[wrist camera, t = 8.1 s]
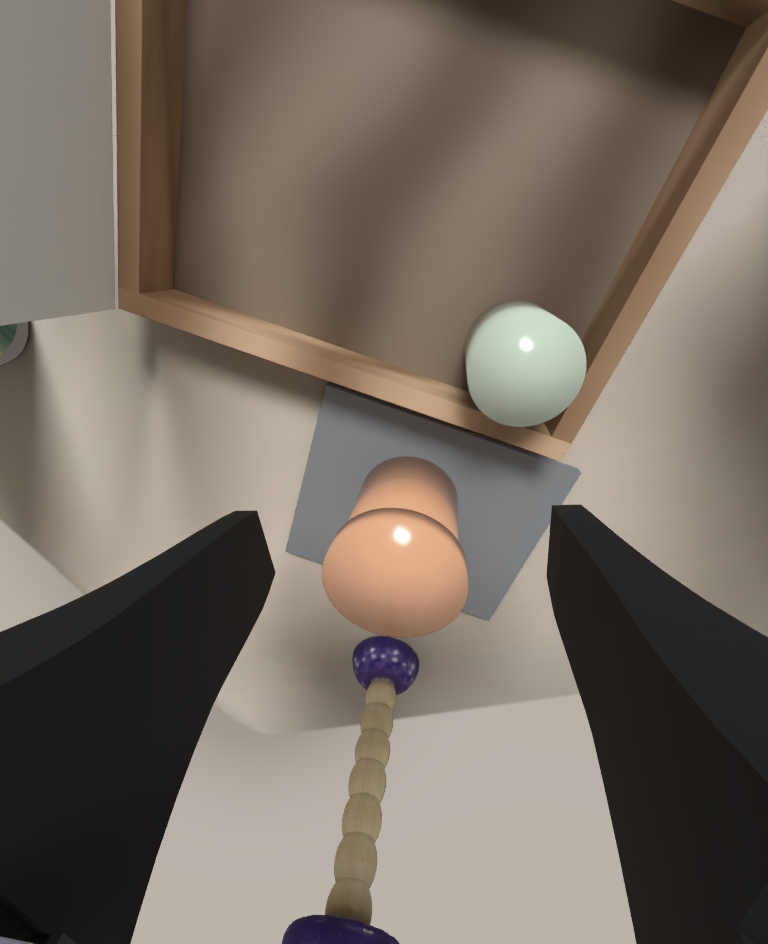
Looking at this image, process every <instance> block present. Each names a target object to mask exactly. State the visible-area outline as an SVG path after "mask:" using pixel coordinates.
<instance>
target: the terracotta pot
mask: <svg viewBox="0 0 768 944" xmlns="http://www.w3.org/2000/svg"><path fill="white" fill-rule="evenodd" d="M322 581H323V585H324V589H325V591H326V594H327V596H328V598H329V599H330V601H331V602H332V604H333V605H334V607H335V608H336V609H337V610H338V611H339V612H340V613H341V614H342V615H343V616H344V617H346V618H347V619H348V620H350V621H351V622H353V623H354V624H356V625H358V626H360V627H361V628H364V629H366V630H368V631H371V632H374V633H377V634H381V635H385V636H392V637H415V636H422V635H425V634H429V633H432V632H434V631H437V630H439V629H441V628H443V627H445V626H446V625H447V624H449V623H450V622H451V621H452V620H453V619H455V618H456V617H457V615H458V614H459V613H460V611H461V610H462V608H463V606H464V604H465V602H466V599H467V594H468V572H467V561H466V556H465V553H464V550H463V548H462V546H461V544H460V543H459V532H458V496H457V491H456V488H455V485H454V483H453V481H452V480H451V478H450V477H449V476H448V475H447V473H446V472H445V471H444V470H442V469H441V468H440V467H439V466H437V465H435V464H434V463H432V462H430V461H427V460H424V459H421V458H417V457H408V456H406V457H396V458H392V459H388V460H386V461H384V462H382V463H380V464H378V465H377V466H376V467H374V468H373V469H372V470H371V471H370V472H369V473H368V475H367V476H366V478H365V480H364V482H363V484H362V487H361V489H360V492H359V494H358V497H357V500H356V502H355V505H354V507H353V510H352V512H351V515H350V517H349V520H348V521H347V522H346V523H345V524H344V525H343V526H342V527H341V528H340V529H339V530H338V531H337V533H336V534H335V536H334V538H333V540H332V542H331V544H330V547H329V549H328V552H327V554H326V556H325V559H324V562H323V567H322Z"/></svg>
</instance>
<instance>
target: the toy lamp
mask: <svg viewBox="0 0 768 944" xmlns="http://www.w3.org/2000/svg"><path fill="white" fill-rule="evenodd" d="M353 669H354V673H355V675H356V677H357V679H358V681H359V683H360V684H361V685H362V686H363V687H364V688H365V689H366V690H367V692H366V698H365V702H366V708H365V710H364V712H363V715H362V718H361V733H362V734H361V735H360V737H359V739H358V742H357V744H356V749H355V760H356V764H355V766H354V767H353V770H352V772H351V775H350V780H349V796H350V799H349V801H348V803H347V804H346V807H345V809H344V813H343V819H342V833H343V839H342V841H341V842H340V844H339V847H338V849H337V852H336V856H335V863H334V876H335V881H336V883H335V885H334V886H333V888H332V890H331V892H330V894H329V897H328V900H327V905H326V910H325V915H311V916H307V917H302V918H299V919H297V920H295V921H294V922H293V923H292V924H291V925H289V927H288V928H287V930H286V932H285V934H284V937H283V941H282V944H399V942H398V941H397V940H396V939H395V938H394V937H392V936H390V935H389V934H388V933H386V932H384V931H383V930H381V929H378V928H375V927H373V926H371V925H370V922H371V915H372V900H371V895H370V891H369V888H370V887H371V885H372V883H373V880H374V877H375V873H376V867H377V851H376V846H375V842H376V840H377V838H378V836H379V832H380V829H381V822H382V812H381V807H380V802H381V800H382V799H383V796H384V792H385V788H386V774H385V770H384V769H385V767H386V765H387V763H388V760H389V756H390V743H389V740H388V738H389V736H390V734H391V732H392V728H393V715H392V710H393V708H394V706H395V702H396V695H398V694H400V693H402V692H404V691H406V690H407V689H408V688H409V687H410V686H411V685H412V683H413V682H414V680H415V678H416V676H417V673H418V669H419V660H418V657H417V655H416V654H415V652H414V651H413V650H412V648H411V647H409V646H408V645H407V644H406V643H403V642H402V641H399V640H397V639H394V638H390V637H382V636H381V637H371V638H368V639H366V640H364V641H362V642H361V643H360V644H358V646H357V647H356V648H355V650H354V653H353Z"/></svg>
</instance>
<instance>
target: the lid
mask: <svg viewBox="0 0 768 944" xmlns="http://www.w3.org/2000/svg"><path fill="white" fill-rule="evenodd" d="M111 309H115V279H114V213H113V146H112V80H111V13H110V0H0V326H2V325H9V324H16V323H23V322H29V321H36V320H43V319H50V318H57V317H63V316H70V315H77V314H84V313H90V312H97V311H104V310H111Z"/></svg>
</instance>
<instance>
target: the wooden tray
mask: <svg viewBox="0 0 768 944" xmlns="http://www.w3.org/2000/svg"><path fill="white" fill-rule="evenodd" d="M115 21H116V113H117V205H118V297H119V309H122V310H125V311H128V312H131V313H134V314H137V315H140V316H142V317H145V318H148V319H151V320H154V321H157V322H160V323H163V324H166V325H168V326H171V327H174V328H177V329H180V330H183V331H186V332H189V333H192V334H194V335H197V336H200V337H203V338H206V339H209V340H212V341H215V342H218V343H220V344H223V345H226V346H229V347H232V348H235V349H238V350H241V351H243V352H246V353H249V354H252V355H255V356H258V357H261V358H264V359H267V360H269V361H272V362H275V363H278V364H281V365H284V366H287V367H290V368H293V369H295V370H298V371H301V372H304V373H307V374H310V375H313V376H316V377H319V378H321V379H324V380H327V381H330V382H333V383H336V384H339V385H342V386H344V387H347V388H350V389H353V390H356V391H359V392H362V393H365V394H368V395H370V396H373V397H376V398H379V399H382V400H385V401H388V402H391V403H394V404H396V405H399V406H402V407H405V408H408V409H411V410H414V411H417V412H420V413H422V414H425V415H428V416H431V417H434V418H437V419H440V420H443V421H445V422H448V423H451V424H454V425H457V426H460V427H463V428H466V429H469V430H471V431H474V432H477V433H480V434H483V435H486V436H489V437H492V438H495V439H497V440H500V441H503V442H506V443H509V444H512V445H515V446H518V447H520V448H523V449H526V450H529V451H532V452H535V453H538V454H541V455H544V456H546V457H549V458H552V459H555V460H558V461H561V460H562V458H563V457H564V455H565V453H566V452H567V450H568V448H569V447H570V445H571V443H572V441H573V440H574V438H575V436H576V435H577V433H578V431H579V430H580V428H581V426H582V424H583V423H584V421H585V419H586V418H587V416H588V414H589V413H590V411H591V409H592V407H593V406H594V404H595V402H596V401H597V399H598V397H599V395H600V394H601V392H602V390H603V389H604V387H605V385H606V384H607V382H608V380H609V378H610V377H611V375H612V373H613V372H614V370H615V368H616V367H617V365H618V363H619V361H620V360H621V358H622V356H623V355H624V353H625V351H626V350H627V348H628V346H629V344H630V343H631V341H632V339H633V338H634V336H635V334H636V333H637V331H638V329H639V327H640V326H641V324H642V322H643V321H644V319H645V317H646V315H647V314H648V312H649V310H650V309H651V307H652V305H653V304H654V302H655V300H656V298H657V297H658V295H659V293H660V292H661V290H662V288H663V287H664V285H665V283H666V281H667V280H668V278H669V276H670V275H671V273H672V271H673V270H674V268H675V266H676V264H677V263H678V261H679V259H680V258H681V256H682V254H683V253H684V251H685V249H686V247H687V246H688V244H689V242H690V241H691V239H692V237H693V235H694V234H695V232H696V230H697V229H698V227H699V225H700V224H701V222H702V220H703V218H704V217H705V215H706V213H707V212H708V210H709V208H710V207H711V205H712V203H713V201H714V200H715V198H716V196H717V195H718V193H719V191H720V190H721V188H722V186H723V184H724V183H725V181H726V179H727V178H728V176H729V174H730V173H731V171H732V169H733V167H734V166H735V164H736V162H737V161H738V159H739V157H740V155H741V154H742V152H743V150H744V149H745V147H746V145H747V144H748V142H749V140H750V138H751V137H752V135H753V133H754V132H755V130H756V128H757V127H758V125H759V123H760V121H761V120H762V118H763V116H764V115H765V113H766V111H767V110H768V0H115ZM507 300H525V301H529V302H532V303H534V304H536V305H538V306H540V307H541V308H543V309H544V310H546V311H548V312H549V313H551V314H552V315H554V316H555V317H557V318H559V319H560V320H562V321H563V322H565V323H566V324H568V325H569V326H570V327H571V328H572V329H573V330H574V331H575V332H576V333H577V335H578V336H579V338H580V340H581V342H582V344H583V346H584V350H585V354H586V373H585V378H584V381H583V384H582V387H581V389H580V391H579V393H578V394H577V396H576V397H575V399H574V400H573V401H572V403H571V404H570V405H569V406H568V407H567V408H566V409H565V410H564V411H562V412H561V413H560V414H559V415H557V416H556V417H554V418H552V419H550V420H548V421H546V422H544V423H541V424H538V425H533V426H527V427H513V426H507V425H503V424H500V423H498V422H495V421H494V420H492V419H490V418H489V417H487V416H486V415H485V414H483V413H482V412H481V411H480V410H479V408H478V407H477V406H476V404H475V403H474V401H473V399H472V397H471V394H470V392H469V387H468V382H467V373H466V364H465V354H464V347H465V340H466V337H467V334H468V331H469V329H470V327H471V326H472V324H473V322H474V321H475V320H476V319H477V317H478V316H479V315H480V314H481V313H482V312H484V311H485V310H486V309H488V308H489V307H491V306H493V305H495V304H497V303H500V302H503V301H507Z"/></svg>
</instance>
